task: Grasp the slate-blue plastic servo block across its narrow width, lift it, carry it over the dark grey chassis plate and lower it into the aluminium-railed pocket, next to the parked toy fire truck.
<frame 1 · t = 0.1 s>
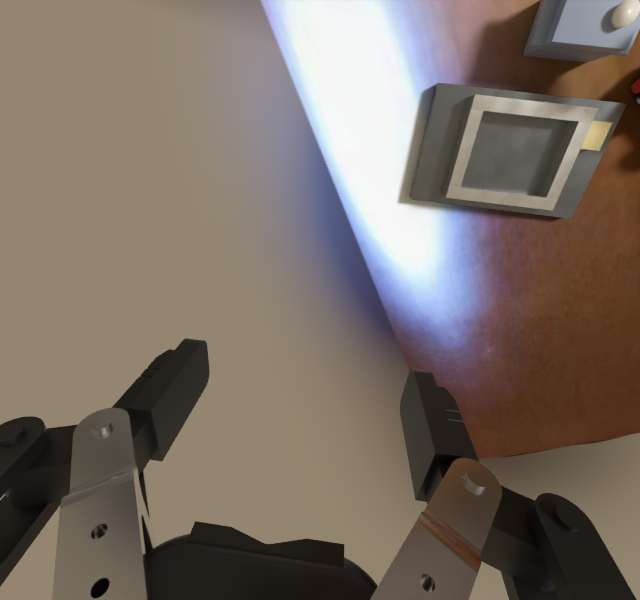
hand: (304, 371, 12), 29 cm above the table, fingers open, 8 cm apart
chassis: (504, 155, 34), on the table
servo: (563, 32, 29), on the table
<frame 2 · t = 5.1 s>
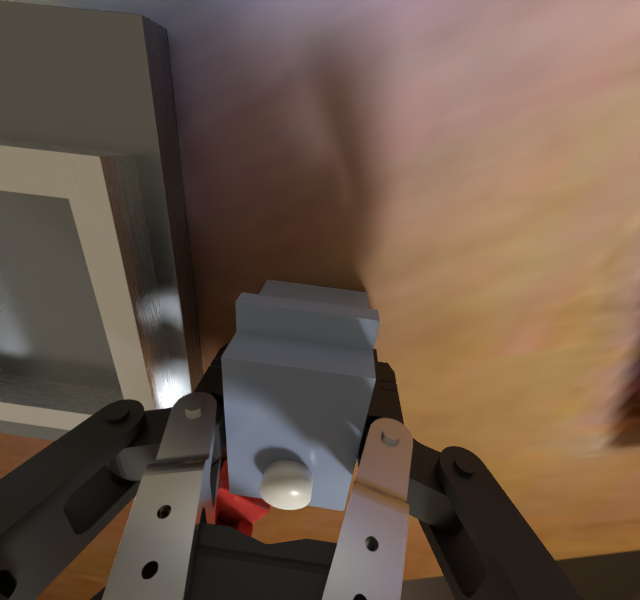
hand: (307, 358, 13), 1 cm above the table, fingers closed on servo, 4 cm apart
toy fire truck: (231, 478, 19), on the table
chassis: (70, 286, 13), on the table
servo: (310, 346, 14), on the table, touching gripper
when the fingers open (3 cm above the table, at t = 10.7 s): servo drops 1 cm, resting on chassis.
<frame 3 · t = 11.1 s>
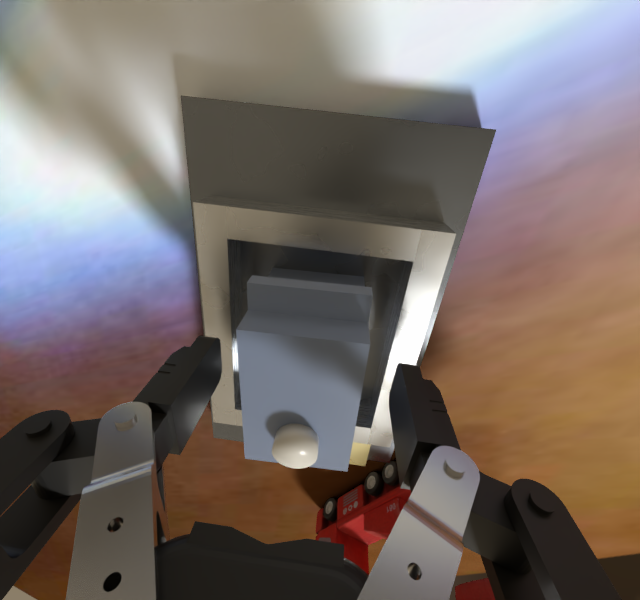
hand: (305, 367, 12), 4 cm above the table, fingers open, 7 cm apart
toy fire truck: (391, 476, 22), on the table
chassis: (315, 316, 16), on the table
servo: (314, 329, 15), point 1 cm above the table, touching chassis
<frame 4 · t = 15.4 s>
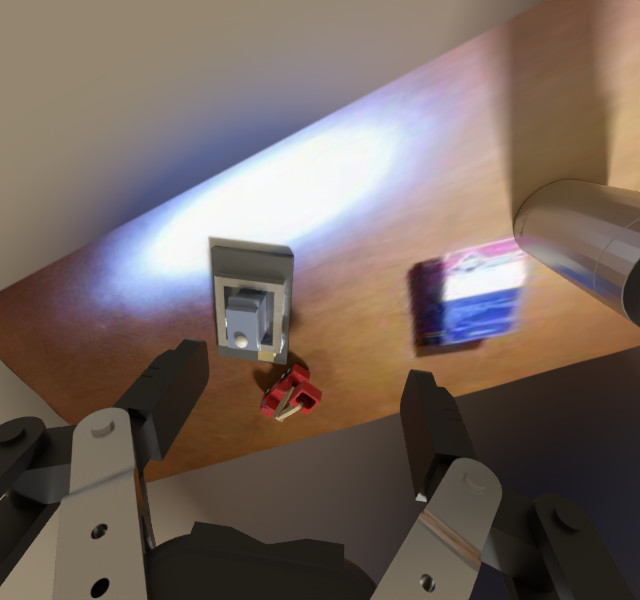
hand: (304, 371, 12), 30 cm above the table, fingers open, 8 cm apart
toy fire truck: (292, 376, 52), on the table
chassis: (254, 307, 46), on the table
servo: (252, 312, 45), point 1 cm above the table, touching chassis
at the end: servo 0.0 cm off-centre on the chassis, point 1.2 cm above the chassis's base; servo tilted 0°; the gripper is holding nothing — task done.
